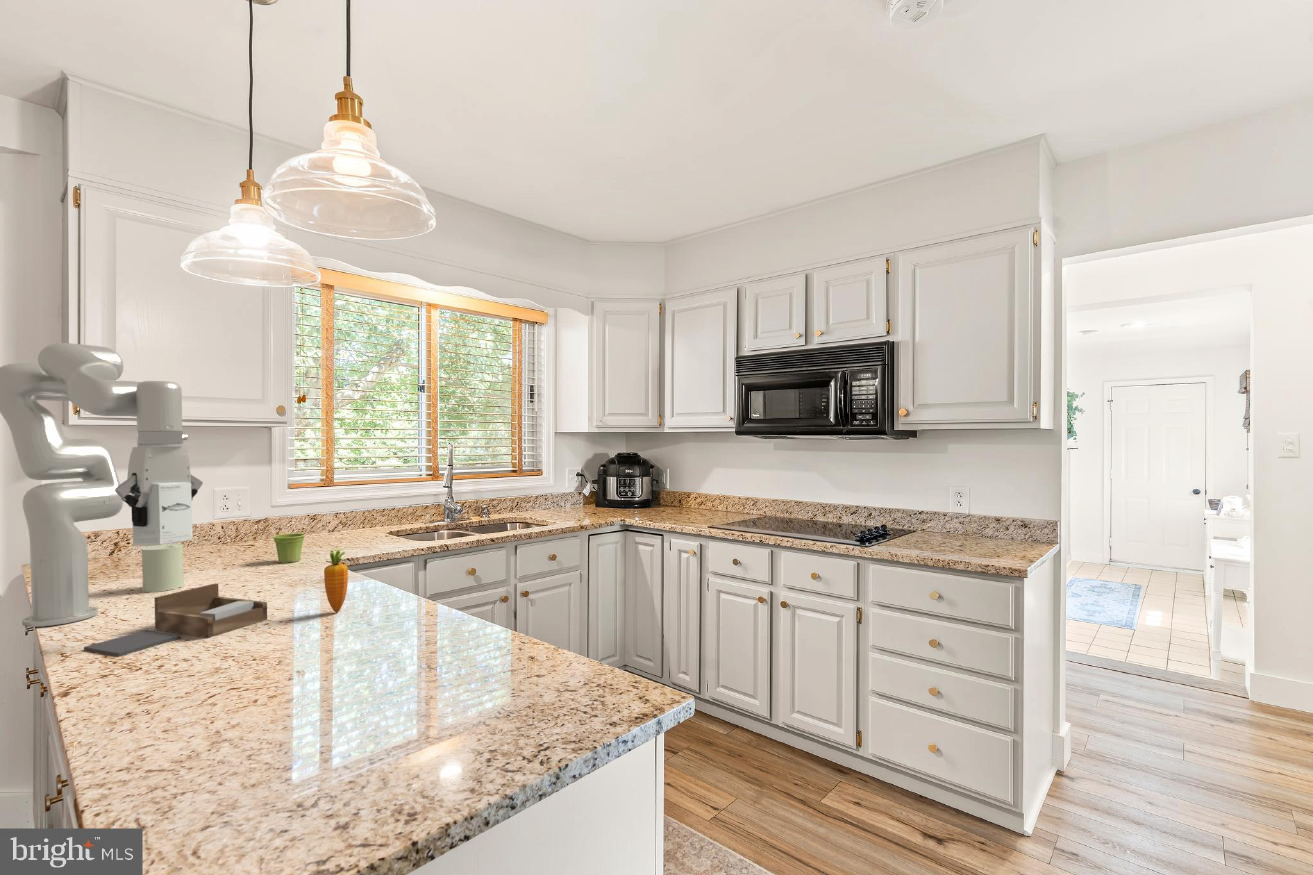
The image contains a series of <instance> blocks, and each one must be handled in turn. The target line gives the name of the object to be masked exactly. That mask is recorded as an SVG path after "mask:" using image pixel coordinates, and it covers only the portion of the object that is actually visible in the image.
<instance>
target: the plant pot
mask: <svg viewBox="0 0 1313 875" xmlns="http://www.w3.org/2000/svg"><path fill="white" fill-rule="evenodd" d="M305 536H306V534H305V533H282V534H277V535H273V536H272V539H273V540H274V543H275V547H276V548H275V549H276V553H277V554H276V555H277V559H278V563H280V564H289V563H296V562H300V560H301V557H302V549H303V542H304V540H305Z"/></svg>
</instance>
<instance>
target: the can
mask: <svg viewBox="0 0 1313 875" xmlns="http://www.w3.org/2000/svg"><path fill="white" fill-rule="evenodd" d="M141 562H142V563H141V564H142V568H141V570H142V589H141V591H142V593H159V592H158V591H162V592H165V591H164V590H169V591H172V590H171V589H174V588H178V589H180V588H179V587H181V586H183V587H184V586H185V581H184V580H185V579H184V578H185V577H184V576H185V575H184V544H182V543H169V544H161V545H150V546H143V547H142V548H141ZM181 588H182V587H181ZM174 590H175V589H174Z"/></svg>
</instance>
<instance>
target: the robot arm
mask: <svg viewBox="0 0 1313 875" xmlns="http://www.w3.org/2000/svg"><path fill="white" fill-rule="evenodd" d="M123 372H124V360H123V358H122V357H121V355H120V354H119V353H118V352H116V350H114V349H112V348H110V347H106V346H99V345H90V344H80V343H69V342H60V343H59V342H57V343H52V344H49V345H46V346H45V347H43V348H42V349H41V350H40V351H39V353H38V355H37V363H33V362H32V363H30V362H29V363H28V362H26V363H25V362H23V363H22V362H18V363H17V362H15V363H10V364H9V363H8V364H5V365H2V366H0V415H1V416H2V418H3V419H4V421H5V422H6V424H7V426H8V428H9V430H10V433H11V438H12V441H13V445H14V448H15V450H16V451H15V452H16V454H17V455H16V456H17V458H18V461H19V465H20V467H21V469H22V472H23V473H24V475H25V477H26V478H27V477H28V478H29V479H31V480H34V481H55V480H71V479H72V480H73V479H80V480H79V481H78V480H77V481H76V480H75V481H74V480H73V481H57V482H49V483H44V484H39V485H36V486H33V487H31V488H29V490H27V491H26V493H25V494H24V495H23V498H22V509H23V513H24V514H23V515H24V518H25V520H26V524H27V529H28V537H29V555H30V586H31V587H30V589H31V590H30V591H31V592H30V594H31V596H30V597H31V603H30V605H29V607H30V608H31V615H29V616H26V617H24V618H23V619H22V626H23V627H28V628H37V627H38V628H39V627H52V626H58V625H65V624H70V623H71V624H72V623H75V622H80V621H83V620H86V619H89V618H92V617H94V616H96V615H97V614H98V613H99V609H98V607H94V606H90V599H89V598H90V597H89V596H90V595H89V592H90V591H89V561H88V560H89V558H88V556H89V555H88V541H87V538H86V536H85V535H84V534H83V532H82V531H81V530H80V529H78V527H77V526H76V525H75V524H74V523H80V522H86V521H94V520H102V519H109V518H112V517H115V516H116V515H118V514H119V513H120V512H121V510H122V509H123V506H124V503H125V504H127V505H128V507H129V508H131V522H133V526H139V527H144V526H146V525H147V508H146V507H143V505H144V503H145V502H146V500H147V498H148V497H149V495H150V494H151V492H152V486H153V484H163V483H191V499H192V501H193V498H195V496H196V495H197V494H198V492H199V490H200V489H201V487H202V485H203V481H202V480H200V479H199V478H197V477H196V476H194V475H192V474H191V466H190V459H189V454H188V451H187V447H186V445H183V444H184V441H187V440H188V435H187V434H186V433H185V434H184V432H183V401H182V400H183V398H182V397H183V396H182V393H183V392H182V387H181V385H180V384H179V383H177V382H175V381H165V380H164V381H163V380H145V381H133V380H119V379H120V378H121V377H122V375H123ZM39 401H55V402H59V401H60V402H71V404H72V405H73V406H75V407H76V408H79V409H81V411H84V412H85V413H88V414H91V415H95V416H99V417H135V418H136V444H137V445H136V446H133V447H132V448H131V451H130V455H129V459H128V467H127V479H126V480H124V481H123V482H120V481H119V476H118V473H117V471H116V467H115V466H116V465H115V464H114V461H113V457H112V455H111V454H112V453H111V452H110V450H109V449H108V448H107V446H106V445H105V444H104V443H102V442H101V441H99V440H97V439H96V440H95V439H90V438H88V439H87V438H80V439H78V438H75V439H73V438H68V437H66V435H65V434H64V431H63V429H62V428H63V427H62V425H61V422H60V420H59V419H58V417H57V416H56V415H55V414H53V412H51V411H50V410H49V409H48V408H46V406H45V407H44V406H43V405H42V404H41V403H39ZM134 485H135V490H134V491H136V492H135V493H134V491H133V487H134ZM137 485H138V488H137V490H136V486H137ZM132 494H134V495H133V496H132Z"/></svg>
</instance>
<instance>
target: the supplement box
mask: <svg viewBox="0 0 1313 875" xmlns="http://www.w3.org/2000/svg"><path fill="white" fill-rule="evenodd" d="M137 488H138V485H137V486H136V490H137ZM134 490H135V485H134V487H133V491H134ZM135 492H136V491H134V493H135ZM131 495H132V496H133V495H134V494H131ZM192 501H193V500H192V499H191V483H163V484H153V486H152V492H151V494H150V495H149V497H148V498H147V500H146V502H145V503H144V505H143V507H146V508H147V525H146V526H144V527H139V526H133V522H132V521H131V522H132V546H134V547H135V546H136V547H138V546H139V547H140V546H141V547H142V546H143V547H149V546H155V545H163V544H177V543H181V542H182V543H183V542H189V541H193V537H194V536H193V508H192V507H193V506H192V505H193V504H192Z"/></svg>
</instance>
